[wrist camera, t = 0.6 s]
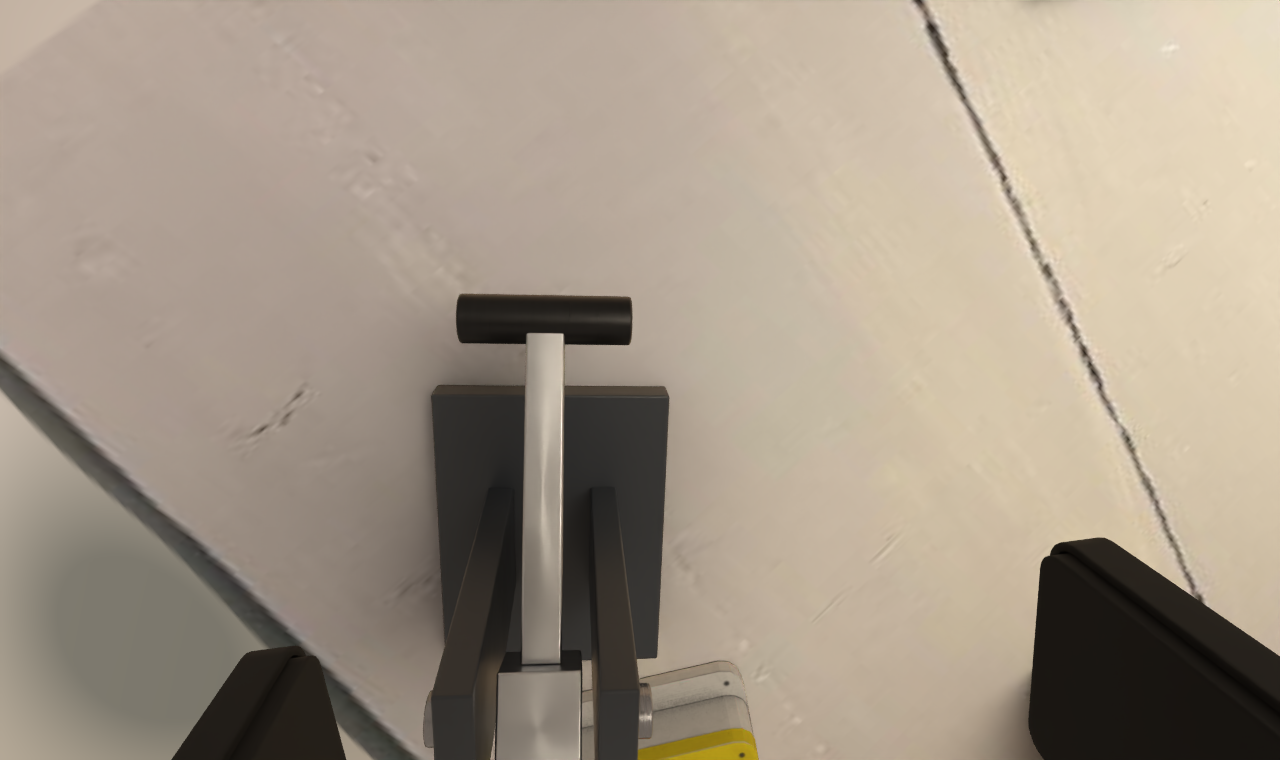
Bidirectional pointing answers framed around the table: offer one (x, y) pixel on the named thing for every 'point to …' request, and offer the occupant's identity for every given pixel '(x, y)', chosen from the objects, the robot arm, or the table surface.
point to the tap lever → (542, 511)
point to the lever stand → (592, 555)
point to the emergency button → (690, 716)
